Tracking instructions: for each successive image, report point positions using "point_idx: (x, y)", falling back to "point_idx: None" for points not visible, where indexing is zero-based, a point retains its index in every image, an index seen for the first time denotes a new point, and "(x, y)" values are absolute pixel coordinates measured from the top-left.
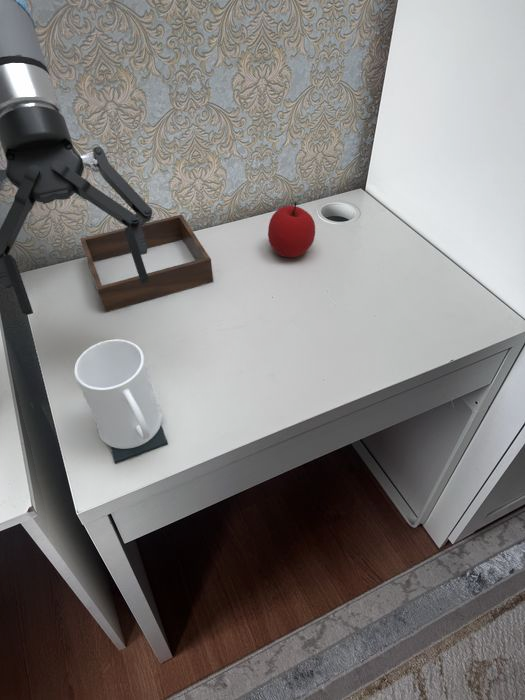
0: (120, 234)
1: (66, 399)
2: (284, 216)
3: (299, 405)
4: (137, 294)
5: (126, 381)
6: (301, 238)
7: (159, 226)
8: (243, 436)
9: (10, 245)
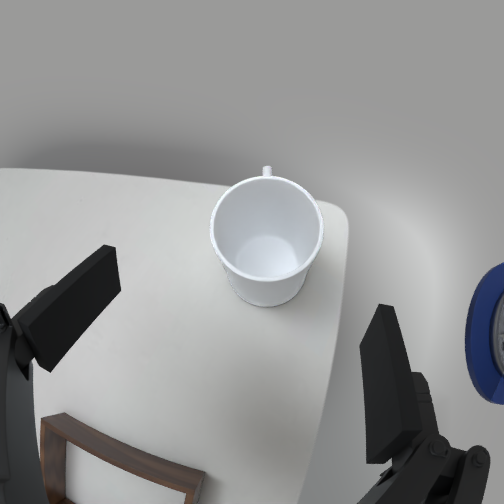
0: None
1: (318, 356)
2: None
3: (116, 187)
4: (150, 461)
5: (261, 177)
6: None
7: None
8: (177, 186)
9: (374, 489)
